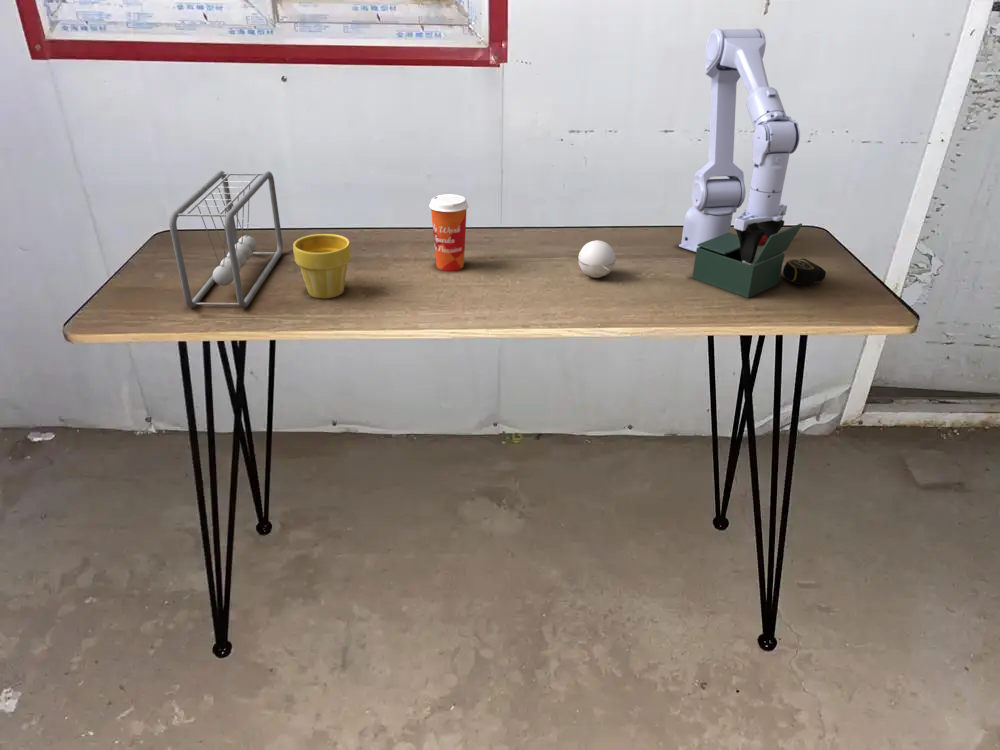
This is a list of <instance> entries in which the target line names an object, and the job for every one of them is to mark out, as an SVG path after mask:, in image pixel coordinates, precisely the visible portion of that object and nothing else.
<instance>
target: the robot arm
mask: <svg viewBox="0 0 1000 750" xmlns="http://www.w3.org/2000/svg"><path fill="white" fill-rule="evenodd" d="M766 44H767V39H766V35H765V33H764V31H763V29H761V28H759V27H757V28H743V29H742V28H738V29H735V28H734V29H732V28H730V29H724V28H723V29H722V28H715V29H713V30H712V32H711V33H710V34H709V36H708V39H707V41H706V44H705V56H704V57H705V58H704V60H705V61H704V68H705V70H704V71H705V75H706V76H708V77H709V78H710V80H711V81H710V105H709V107H710V108H709V109H710V110H709V135H708V140H709V141H708V160H707V161H708V162H706V164H704V166H702V167H701V168H700V169H698V170H697V171H696V172H695V174H694V176H693V177H694V178H693V185H692V188H691V196H690V197H691V203H692V205H691V206H690V207H689V208H688V210H687V212H686V213H685V216H684V220H683V227H682V233H681V234H682V235H681V241H680V243H679V244H678V247H679V248H682V249H685V250H688V251H691V252H694V253H696V250H697V248H698V247H700V246H698V244H700V243H702V242H705V241H708V240H710V239H713V238H716V237H718V236H721V235H724V234H726V233H729V232H730V233H731V228H732V227H731V226H732V220H733V215H734V213H737V209H739V208H741V206H742V205H743V204H744V201H745V199H746V192H747V191H746V185H745V177H744V176H745V175H744V171H743V170H742V169H741V168H739V166H737V164H735V163H734V151H735V150H734V149H735V126H736V125H735V124H736V107H737V106H736V104H737V86H738V85H737V84H738V81H739V80H740V78H741V80H742V82H743V84H744V87H745V88H746V91H747V93H748V97H747V98H746V102H745V106H746V109H747V112H748V115H749V118H750V120H751V124H752V127H753V129H754V132H753V134H752V138H751V141H752V142H751V143H752V156H751V159H752V162H753V169H752V175H751V182H750V187H749V192H748V197H747V202H746V208H745V209H744V210H743V212H742V213H741V214H740V215H739V216H738V217H736V218H735V219H734V225H733V229H734V230H735V232H736V235H738V238H739V242H740V249H741V259H742V260H744V261H747V262H750V263H751V262H753V260H754V257H755V254H756V251H757V247H758V245H759V242H760V240H761V238H762V237H763V235H765V236H767V237H768V238H769V237H770V236H771V235H773V234H776V233H778V232H780V231H781V229H782V228H783V227H784V225H785V220H784V216H786V213H787V210H788V205H787V204H783V203H781V200H782V195H783V189H784V185H785V180H786V174H787V169H788V164H789V160H790V155H791V154H794V153H795V152H796V151H797V149H798V147H799V143H800V137H801V132H800V131H801V130H800V127H799V122H798V121H796V120H795V119H792V117H791V116H789V115H787V114H786V111H785V109H784V106H783V103H782V100H781V98H780V95H779V92H778V90H777V89H776V88H775V87H771V86H770V85H769V81H768V78H767V72H766V69H765V65H764V61H763V59H764V55H765V53H766V46H767V45H766ZM714 177H715V178H714ZM716 177H727V178H716Z"/></svg>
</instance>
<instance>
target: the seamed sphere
mask: <svg viewBox="0 0 1000 750" xmlns="http://www.w3.org/2000/svg"><path fill="white" fill-rule="evenodd" d="M577 262H578V266H579V268H580V271H582V272H583V273H584V274H585V275H586V276H588V277H590V278H594V279H597V278H602V277H605V276H607V275H608V274H610V273H611V271H612V270H613V268H614V267H615V263H616V253H615V252H614V249H613V247H612V246H611V245H610V244H608V243H607V242H605V241H603V240H598V239H596V240H592V241H588V242H587V243H586V244H584V245H583V246H582V248H581V249H580V251H579V252H578V256H577Z"/></svg>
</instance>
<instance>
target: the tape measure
mask: <svg viewBox="0 0 1000 750" xmlns="http://www.w3.org/2000/svg"><path fill="white" fill-rule="evenodd" d="M782 274H783V277H784V279H786V280H787V281H789V282H791V283H794V284H795V285H806V286H807V285H813V284H816V283H821V282H823V281H824V280H826V279H825V278H826V276H827V272H826V270H825V269H824V268H823V267H821V266H819V265H818V264H816V263H815V262H812V261H810V260H808V259H806V258H800V259H799V258H792V259H789V260H787V261H786V262H785V264H784V267H783V269H782Z"/></svg>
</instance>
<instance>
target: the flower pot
mask: <svg viewBox="0 0 1000 750" xmlns="http://www.w3.org/2000/svg"><path fill="white" fill-rule="evenodd" d="M292 251H293V258H294V263H295V264H296V265H297V266H299V269H300V272H301V276H302V279H303V281H304V284H305V288H306V290H307V293H308V294H309V296H311V297H312V298H316V299H332V298H336V297H338V296H340V295H342V294H343V292H344V291H345V282H346V275H347V269H348V264H349V262H350V261H351V258H352V255H351V251H352V249H351V242H350V240H349V239H348V238H347V237H345V236H343V235H341V234H334V233H316V234H315V233H314V234H309V235H304V236H301V237H299V238H298V239H296V240H295V241H294V242H293V244H292Z"/></svg>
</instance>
